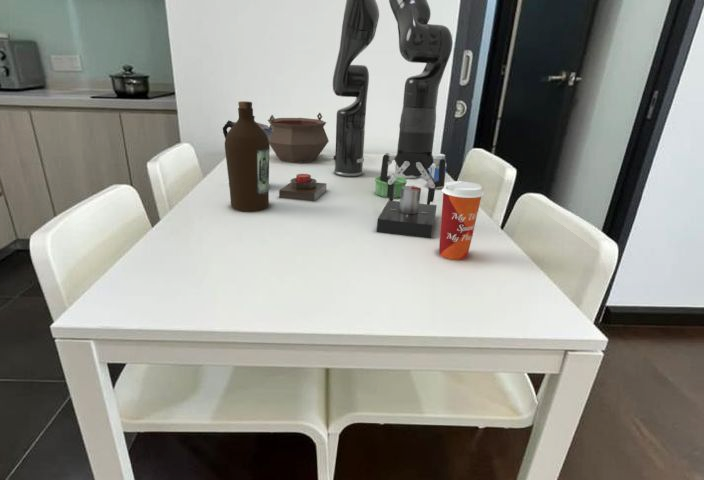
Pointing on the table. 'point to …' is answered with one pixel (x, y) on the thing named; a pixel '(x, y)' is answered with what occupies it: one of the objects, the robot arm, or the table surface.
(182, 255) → the table surface
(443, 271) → the table surface
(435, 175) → the pill bottle
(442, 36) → the robot arm
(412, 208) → the knob
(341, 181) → the table surface
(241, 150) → the olive oil
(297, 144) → the brown cauldron
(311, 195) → the dark brown square base
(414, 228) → the panel
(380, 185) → the ramekin
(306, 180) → the power button
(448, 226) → the paper cup
